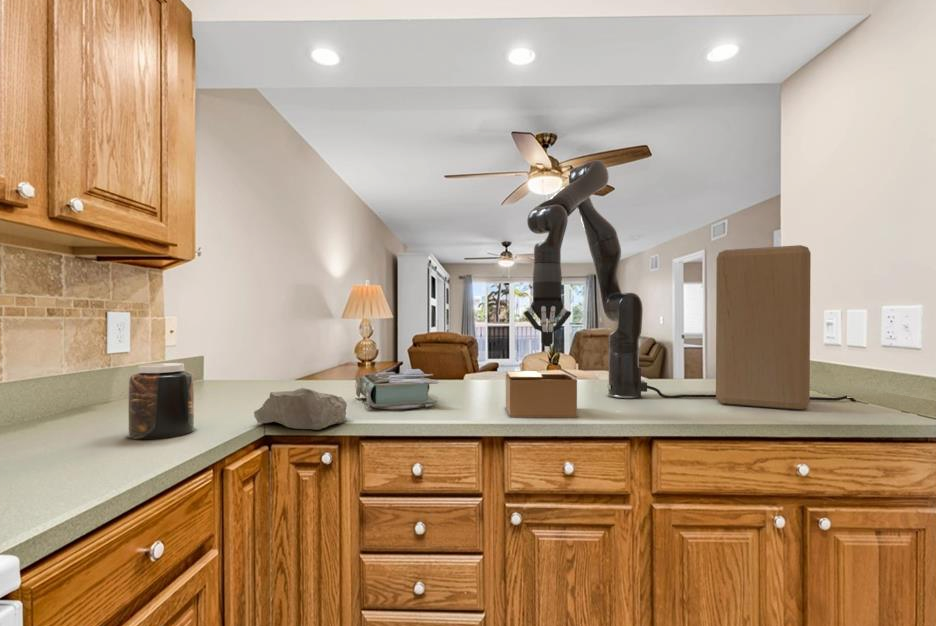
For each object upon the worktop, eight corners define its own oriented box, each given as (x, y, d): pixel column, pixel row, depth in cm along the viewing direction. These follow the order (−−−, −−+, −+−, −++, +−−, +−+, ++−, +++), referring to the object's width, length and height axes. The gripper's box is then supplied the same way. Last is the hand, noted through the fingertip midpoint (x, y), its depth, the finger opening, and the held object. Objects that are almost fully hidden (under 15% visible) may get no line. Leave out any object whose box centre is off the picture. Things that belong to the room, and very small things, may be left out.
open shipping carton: (566, 407, 136) (566, 371, 136) (576, 417, 123) (577, 376, 123) (505, 407, 136) (505, 371, 136) (510, 417, 123) (510, 376, 123)
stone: (239, 431, 108) (321, 434, 104) (238, 388, 108) (320, 389, 104) (285, 415, 126) (356, 417, 122) (284, 378, 126) (356, 379, 122)
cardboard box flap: (565, 372, 136) (566, 371, 136) (576, 378, 123) (577, 376, 123) (539, 359, 136) (539, 357, 136) (547, 363, 123) (547, 361, 123)
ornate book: (353, 400, 154) (366, 413, 126) (353, 369, 155) (366, 376, 126) (422, 396, 162) (449, 408, 134) (421, 367, 162) (448, 373, 134)
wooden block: (810, 412, 129) (811, 243, 128) (715, 405, 140) (716, 249, 140) (801, 400, 148) (802, 253, 148) (718, 394, 160) (719, 258, 159)
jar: (165, 441, 99) (164, 367, 98) (115, 438, 101) (114, 366, 100) (205, 428, 110) (204, 362, 110) (159, 426, 112) (159, 362, 112)
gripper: (568, 282, 133) (568, 345, 133) (520, 282, 133) (520, 345, 133) (575, 280, 125) (574, 347, 125) (524, 280, 125) (523, 346, 125)
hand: (546, 346), depth 129 cm, fingers closed
